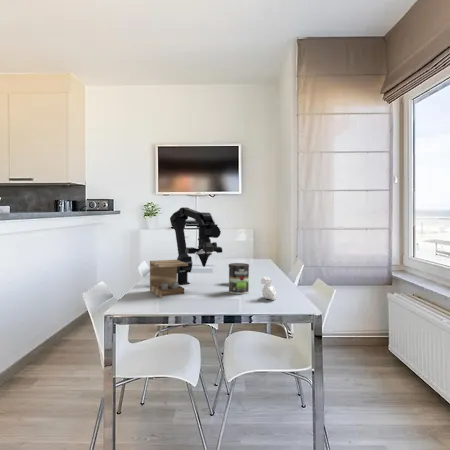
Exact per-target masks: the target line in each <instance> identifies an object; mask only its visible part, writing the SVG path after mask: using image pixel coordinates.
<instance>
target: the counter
mask: <svg viewBox="0 0 450 450" xmlns="http://www.w3.org/2000/svg"><path fill="white" fill-rule="evenodd" d="M177 266H188V263H185V262H182V261H179V260H177V259H163V260H162V259H161V260H149V292H150V293H152V294H153V295H155V296H156V297H158V298H159V299H163V298H162V297H163V296H162V291H160V290H159V289H157V288H156V287H161V283H168V286H171V283H172V282H177Z"/></svg>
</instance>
